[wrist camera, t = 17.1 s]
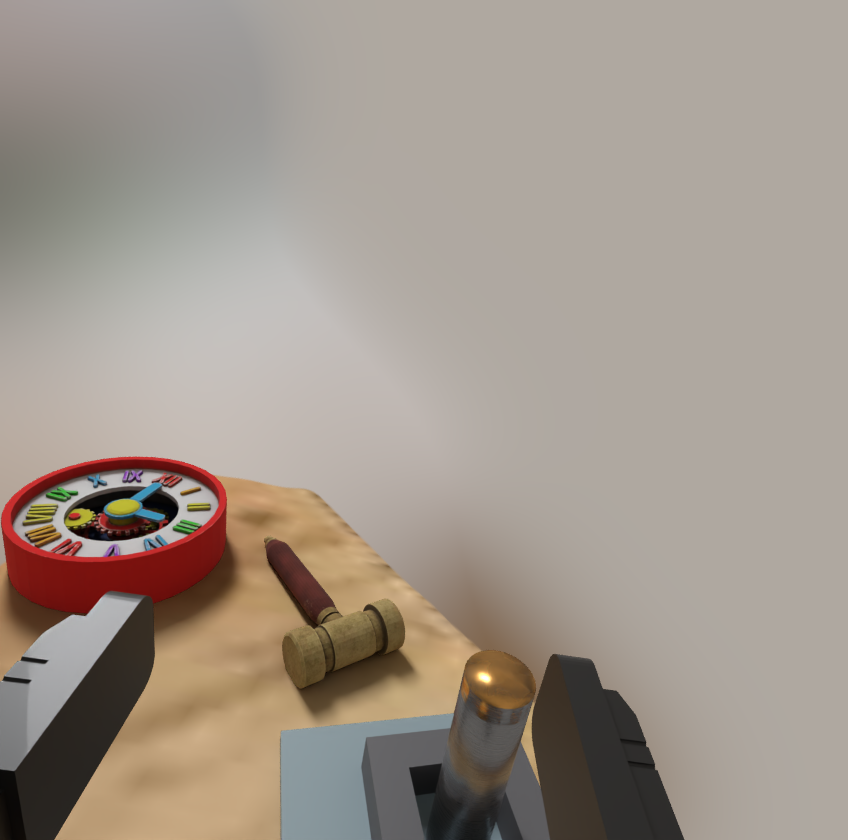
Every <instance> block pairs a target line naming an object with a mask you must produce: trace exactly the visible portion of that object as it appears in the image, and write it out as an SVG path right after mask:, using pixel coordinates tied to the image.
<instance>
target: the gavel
mask: <svg viewBox="0 0 848 840" xmlns="http://www.w3.org/2000/svg"><path fill="white" fill-rule="evenodd" d="M264 542H265V548H266V553H267V559H268V560H269V562H270V563H271V564H272V566H273V567H274V569H275V570H276V571H277V573H278V574H279V576H280V577H281V578H282V580H283V581H284V582H285V584H286V585H287V587H288V588H289V589H290V591H291V592H292V594H293V595H294V596H295V598H296V599H297V600H298V602H299V603H300V605H301V606H302V607H303V609H304V610H305V612H306V613H307V614H308V616H309V617H310V618H311V619H312V620H313V621H314V622H315V623H316V624H318V626H317V628H315V629H313V628H312V627H311V626H309V625H307V626H304V627H301V628H298V629H295V630H292V631H289V632H287V633H286V634H285V636H284V639H283V644H282V651H283V659H284V663H285V667H286V670H287V672H288V674H289V675H290V677H291V679H292V681H293V683H294V684H295V686H297V687H298V688H300V689H301V688H304V687H306V686H309V685H311V684H314V683H316V682H318V681H321V680H323V678H324V676H325V672H327V671H329V672H332V671H335V670H337V669H340V668H342V667H345V666H347V665H350V664H352V663H355V662H357V661H360V660H362V659H364V658H367V657H369V656H372V655H373V654H374V653H375V652H378V653H379V654H380V655H384V654H386V653H389V652H391V651H394V650H396V649H399V648H400V647H402V645H403V643H404V640H405V627H404V622H403V618H402V616H401V613H400V611H399V610H398V608H397V607H396V605H395V604H394V603H393V602H392V601H391V600H389V599H382V600H380V601H377V602H374V603H371V604H368V605H366V606H365V608H364V610H363V612H361V611H358V612H355V613H353V614H350V615H347V616H344V617H343V616H342V615H341V614H340V613H339V612H338V611H337V609H336V607H335V605H334V603H333V601H332V599H331V598H330V597H329V596H328V594H327V593H326V592H325V591H324V589H323V588H322V587H321V586H320V584H319V583H318V582H317V581H316V579H315V578H314V577H313V576H312V575H311V573H310V572H309V571H308V570H307V568H306V567H305V566H304V565H303V563H302V562H301V561H300V560H299V558H298V557H297V556H296V555H295V553H294V552H293V551H292V550H291V548H290V547H289V546H288V545H287V544H286V543H284V542H282V541H279V540H277V539H276V538H273V537H271V536H267V537H265V539H264Z"/></svg>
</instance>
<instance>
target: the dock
mask: <svg viewBox="0 0 848 840" xmlns="http://www.w3.org/2000/svg"><path fill="white" fill-rule="evenodd" d="M453 716H454V713H452V714H443V715H433V716H423V717H413V718H403V719H394V720H384V721H374V722H364V723H354V724H344V725H335V726H325V727H315V728H305V729H295V730H286V731H281V738H280V798H281V840H426V830H427V826H428V821H429V817H430V813H431V809H432V804H433V800H434V796H435V792H436V788H437V783H438V779H439V775H440V771H441V766H442V762H443V758H444V754H445V749H446V745H447V741H448V737H449V732H450V728H451V724H452V720H453ZM491 840H550V837H549V831H548V825H547V820H546V814H545V809H544V803H543V797H542V792H541V788H540V786H539V783H538V781H537V779H536V776H535V774H534V772H533V769H532V767H531V765H530V762H529V760H528V758H527V755H526V753H525V751H524V748H523V746H522V744H521V741H520V745H519V748H518V751H517V754H516V758H515V761H514V764H513V768H512V771H511V774H510V777H509V781H508V784H507V787H506V790H505V794H504V797H503V800H502V804H501V807H500V810H499V813H498V817H497V820H496V823H495V826H494V830H493V833H492V836H491Z"/></svg>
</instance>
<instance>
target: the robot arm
mask: <svg viewBox="0 0 848 840" xmlns="http://www.w3.org/2000/svg"><path fill="white" fill-rule="evenodd" d="M154 657H155V647H154V614H153V600H152V598H151V597H150V596H145V595H138V594H131V593H124V592H117V591H109V592H107V593H106V594H104V596H103V597H102V598H101V599H100V600H99V601H98V602H97V604H96V605H95V606H94V607H93V608H92V610H91V611H90V612H89V613H88V614H87V615H86V616H79V615H71V616H69V617H68V618H66V619H65V620H63V621H61V622H60V623H58V624H57V625H55V626H53V627H52V628H50V629H49V630H47V631H45V632H44V633H43V634H42V635H41V636H40V637H39V638H38V639H37V640H36V641H35V642H34V644H33V645H32V646H31V647H30V648H29V649H28V650H27V651H26V652H25V653H24V655H23V656H22V658H21V660H20V661H17V662H16V663H15V664H14V666H13V667H12V668H11V669H10V670H9V671H8V672H7V673H6V674H5V675H4V678H3V680H2V681H0V840H54V839H55V838H56V836H57V834H58V833H59V831H60V829H61V828H62V826H63V824H64V823H65V821H66V819H67V817H68V816H69V814H70V812H71V811H72V809H73V807H74V806H75V804H76V802H77V801H78V799H79V797H80V796H81V794H82V792H83V791H84V789H85V787H86V786H87V784H88V782H89V781H90V779H91V777H92V776H93V774H94V772H95V771H96V769H97V767H98V766H99V764H100V762H101V761H102V759H103V757H104V756H105V754H106V752H107V751H108V749H109V747H110V746H111V744H112V742H113V741H114V739H115V737H116V736H117V734H118V732H119V731H120V729H121V727H122V726H123V724H124V722H125V721H126V719H127V717H128V716H129V714H130V712H131V711H132V709H133V707H134V706H135V704H136V702H137V701H138V699H139V697H140V696H141V694H142V692H143V691H144V689H145V687H146V685H147V683H148V680H149V678H150V675H151V672H152V668H153V664H154ZM532 741H533V747H534V753H535V758H536V764H537V769H538V775H539V781H540V786H541V792H542V797H543V803H544V809H545V814H546V820H547V825H548V831H549V837H550V840H684V838H683V835H682V833H681V830H680V827H679V825H678V822H677V820H676V817H675V814H674V812H673V810H672V807H671V804H670V802H669V799H668V796H667V794H666V791H665V789H664V786H663V784H662V781H661V778H660V776H659V774H658V771H657V770H655V763H654V760H653V758H652V755H651V753H650V751H649V748H648V747H646V740H645V737H644V735H643V732H642V730H641V727H640V725H639V722H638V719H637V717H636V715H635V714H634V712H633V711H632V710H631V708H630V707H629V706H628V705H627V703H626V702H625V701H624V700H623V698H622V697H621V696H620V694H619V693H618V692H617V691H613V690H606V689H603V688H602V686H601V683H600V680H599V677H598V674H597V671H596V668H595V665H594V663H593V662H592V660H590V659H587V658H580V657H572V656H565V655H558V654H553V655H552V656H551V657H550V659H549V662H548V665H547V668H546V671H545V675H544V678H543V681H542V684H541V687H540V690H539V694H538V696H537V700H536V703H535V706H534V710H533V716H532Z"/></svg>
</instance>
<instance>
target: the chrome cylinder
mask: <svg viewBox="0 0 848 840" xmlns="http://www.w3.org/2000/svg"><path fill="white" fill-rule="evenodd" d="M535 691H536V684H535V680H534V677H533V675H532V673H531V671H530V670H529V669H528V667H527V666H525V664H524V663H522V662H521V661H520V660H519V659H517V658H516V657H513V656H512V655H510V654H507V653H505V652H501V651H495V650H487V651H481V652H478V653H476V654H474V655H473V656H471V657H470V658H469V660H468V661H467V663H466V665H465V669H464V673H463V677H462V682H461V686H460V690H459V694H458V699H457V703H456V707H455V711H454V716H453V720H452V724H451V728H450V732H449V737H448V741H447V745H446V749H445V754H444V758H443V762H442V766H441V771H440V775H439V779H438V783H437V788H436V792H435V796H434V800H433V804H432V809H431V813H430V817H429V821H428V826H427V830H426V840H491V836H492V833H493V830H494V826H495V823H496V820H497V817H498V813H499V810H500V807H501V804H502V800H503V797H504V794H505V790H506V787H507V784H508V781H509V777H510V774H511V771H512V768H513V764H514V761H515V758H516V754H517V751H518V748H519V745H520V741H521V738H522V735H523V731H524V728H525V725H526V722H527V718H528V715H529V712H530V709H531V705H532V702H533V699H534V695H535Z"/></svg>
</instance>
